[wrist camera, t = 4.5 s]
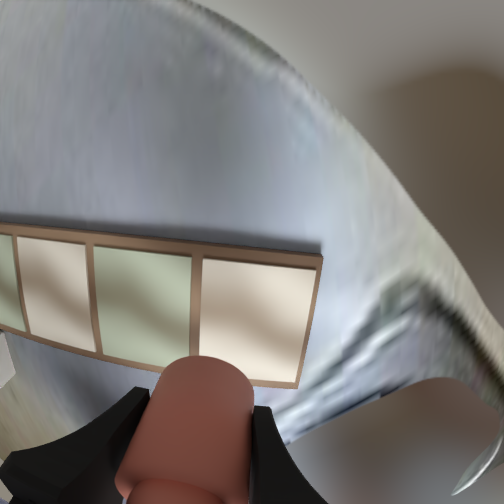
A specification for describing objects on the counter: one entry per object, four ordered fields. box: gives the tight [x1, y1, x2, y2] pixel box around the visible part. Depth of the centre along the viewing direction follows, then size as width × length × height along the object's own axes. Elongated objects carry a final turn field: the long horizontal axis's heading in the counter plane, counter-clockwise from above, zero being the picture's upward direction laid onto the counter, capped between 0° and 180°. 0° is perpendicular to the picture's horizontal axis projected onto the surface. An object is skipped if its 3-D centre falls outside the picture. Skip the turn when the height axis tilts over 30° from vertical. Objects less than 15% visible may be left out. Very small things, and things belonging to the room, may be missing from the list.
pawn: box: [115, 355, 254, 504], centre depth 9 cm, size 4×4×8 cm
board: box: [0, 222, 323, 389], centre depth 21 cm, size 10×30×1 cm, turn 84°
